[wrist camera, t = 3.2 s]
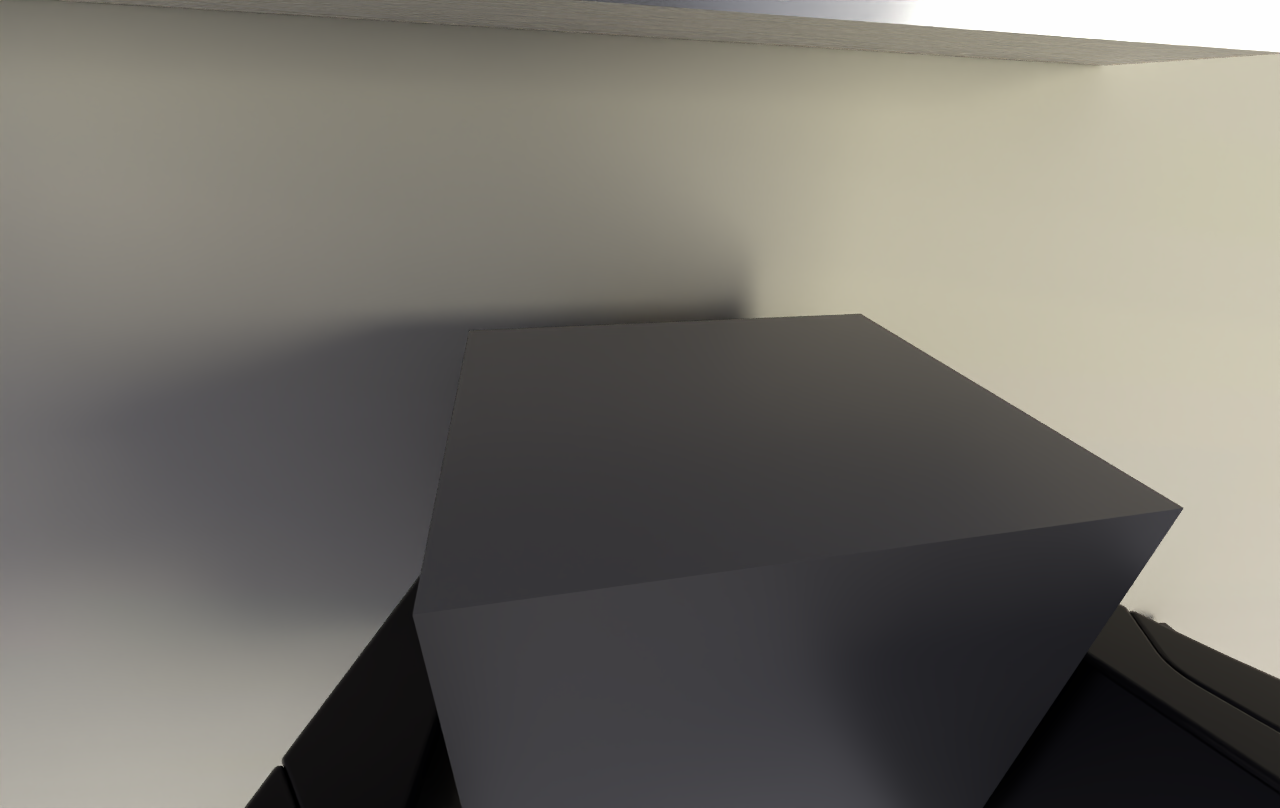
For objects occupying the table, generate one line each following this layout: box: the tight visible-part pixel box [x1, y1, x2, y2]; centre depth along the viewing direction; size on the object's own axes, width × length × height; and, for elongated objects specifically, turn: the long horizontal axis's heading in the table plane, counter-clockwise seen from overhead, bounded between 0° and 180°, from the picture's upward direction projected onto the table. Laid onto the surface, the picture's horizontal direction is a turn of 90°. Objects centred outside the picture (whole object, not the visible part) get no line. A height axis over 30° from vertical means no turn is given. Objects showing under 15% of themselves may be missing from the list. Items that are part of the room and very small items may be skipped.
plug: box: [413, 314, 1183, 808], centre depth 7 cm, size 6×5×5 cm
